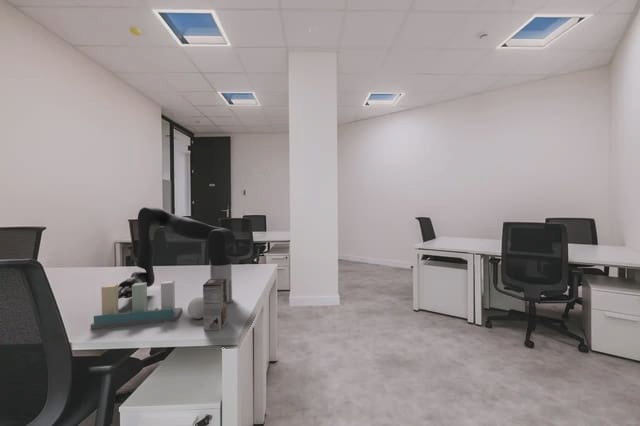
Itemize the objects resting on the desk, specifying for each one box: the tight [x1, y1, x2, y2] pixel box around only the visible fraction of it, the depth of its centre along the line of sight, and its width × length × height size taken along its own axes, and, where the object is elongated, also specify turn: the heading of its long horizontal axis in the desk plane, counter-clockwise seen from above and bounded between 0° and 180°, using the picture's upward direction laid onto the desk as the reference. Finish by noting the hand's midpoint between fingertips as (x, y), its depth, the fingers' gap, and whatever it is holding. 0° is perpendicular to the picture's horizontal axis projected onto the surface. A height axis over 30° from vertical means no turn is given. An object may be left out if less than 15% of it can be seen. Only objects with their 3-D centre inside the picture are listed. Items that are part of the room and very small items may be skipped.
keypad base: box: [90, 307, 183, 330], centre depth 118 cm, size 28×12×4 cm, turn 104°
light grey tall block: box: [160, 280, 176, 312], centre depth 120 cm, size 4×4×12 cm
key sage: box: [131, 282, 148, 313], centre depth 118 cm, size 4×4×12 cm
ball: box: [187, 296, 204, 320], centre depth 118 cm, size 8×8×8 cm
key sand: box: [101, 283, 120, 315], centre depth 115 cm, size 4×4×12 cm
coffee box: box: [202, 278, 228, 332], centre depth 110 cm, size 9×6×16 cm
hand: (114, 297), depth 119 cm, fingers closed
